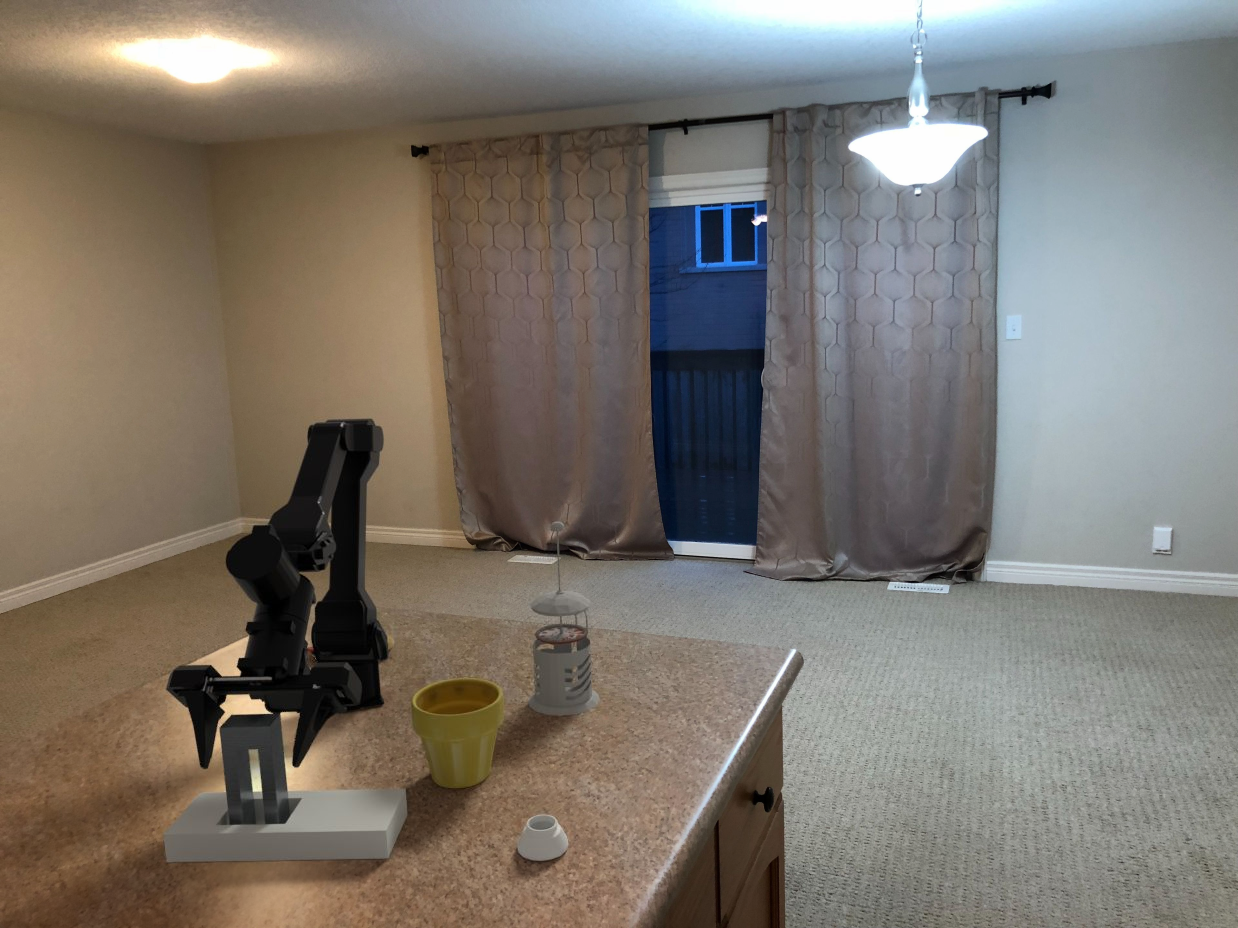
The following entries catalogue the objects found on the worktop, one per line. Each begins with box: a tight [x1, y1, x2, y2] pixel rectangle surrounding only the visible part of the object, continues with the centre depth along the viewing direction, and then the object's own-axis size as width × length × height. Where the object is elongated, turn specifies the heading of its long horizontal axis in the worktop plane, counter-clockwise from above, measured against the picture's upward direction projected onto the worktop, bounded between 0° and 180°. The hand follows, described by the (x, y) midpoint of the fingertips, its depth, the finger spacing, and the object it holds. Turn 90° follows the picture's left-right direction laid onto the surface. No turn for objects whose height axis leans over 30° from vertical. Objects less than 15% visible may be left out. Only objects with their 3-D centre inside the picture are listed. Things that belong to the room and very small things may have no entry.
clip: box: [218, 713, 290, 825], centre depth 96 cm, size 3×5×12 cm, turn 90°
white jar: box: [516, 814, 569, 862], centre depth 94 cm, size 5×3×5 cm
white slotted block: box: [163, 788, 408, 863], centre depth 97 cm, size 8×22×3 cm, turn 89°
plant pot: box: [410, 677, 504, 789], centre depth 108 cm, size 10×10×10 cm
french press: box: [527, 521, 601, 717], centre depth 127 cm, size 10×12×25 cm
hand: (249, 767), depth 94 cm, fingers open, 9 cm apart
